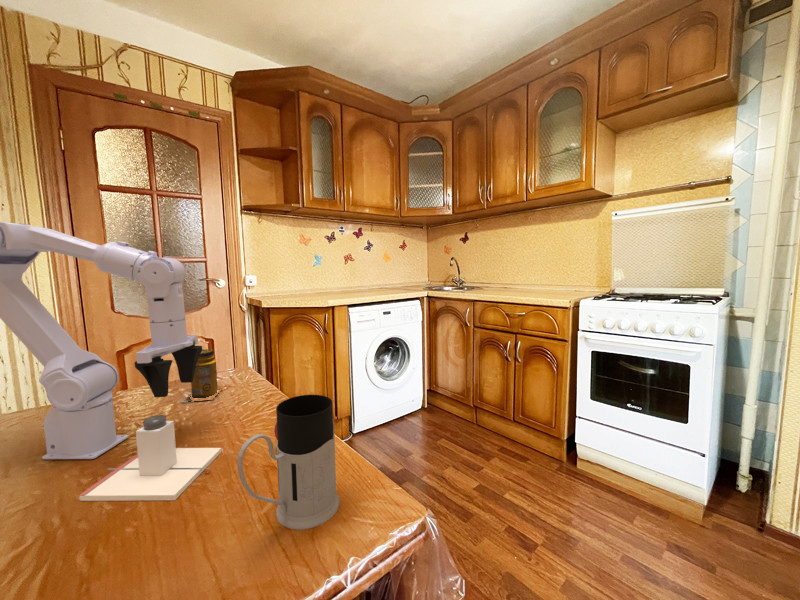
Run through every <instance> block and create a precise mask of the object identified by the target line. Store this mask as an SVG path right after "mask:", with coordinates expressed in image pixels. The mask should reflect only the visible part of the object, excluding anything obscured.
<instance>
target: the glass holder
mask: <svg viewBox="0 0 800 600" xmlns="http://www.w3.org/2000/svg"><path fill="white" fill-rule="evenodd" d="M275 409H276V412H275V413H276V414H275V415H276V422H277V436H278V440H277V441H276V455H275V449H274V443H273V441H272V439H271V438H270V437H269V436H268V435H266V434H263V433H262V434H261V433H259V434H254V435H253V436H250V438H248V439H247V440H246V441H244V443H243V445H241V448H240V450H239V452H238V455H237V471H238V472H237V473H238V477H239V479H240V482H241V484H242V487H243V488H244V490H245V491H246V492H247V493H248V494H249V495H250V496H251V497H252V498H254V499H256V500H259V501H263V502H266V503H269V504H275V505H277V506H276V507H277V508H276V510H275V511H276V512H275V516H276V520H277V521H278V522H279V524H281V525H282V526H283V527H285V528H287V529H291V530H296V531H297V530H309V529H313V528H316V527H319V526H321V525H323V524H325V523H326V522H327V521H329V520H331V519H332V518H333V517H334V516H335V514H336V513H337V512H338V509H339V508H340V502H341V501H340V496H339V494H338V492H337V481H336V479H337V477H336V475H337V474H336V446H335V445H336V442H335V438H336V437H335V421H334V415H333V414H334V413H333V409H334V408H333V401H332V399H331V398H330V397H328V396H325V395H322V394H302V395H301V394H300V395H296V396H293V397H290V398H286V399H284V400H283V401H281V402H279V403H278V404H277V406H276V408H275ZM259 439H264V440H265V441H266V442H267V447H268V454H269V457H270V458H271V460H272V459H273V460H274V461H277V463H276V466H277V483H278V484H277V486H278V499H274V498H271V497H270V498H269V497H265V496H262V495H259V494H257V493H256V492H255V491H253V490H252V488H251V487H250V485H249V484H248V483H247V482H248V481H247V480H246V477H245V473H244V465H243V463H244V456H245V453H246V450H247V449H248V448H249V446H250V445H251V444H252V443H253V442H255V441H256V440H259Z"/></svg>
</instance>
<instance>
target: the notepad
mask: <svg viewBox="0 0 800 600" xmlns="http://www.w3.org/2000/svg"><path fill="white" fill-rule="evenodd" d="M222 450H223V449H222V447H176V457H177V463H176V464H175V465H173V466H172V467H171V468H170V469H169V470H168V471H166V472H165V473H164V474H163V475H140V474H139V462H138V453H136V454H135V455H134V456H132V457H131V458H129V459H128V460H126V461H125V462H124V463H122V464H121V465H119V466H118V467H116V468H110V467H109V468H107V469H106V470H108V471H111V472H109V473H108V474H107V475H105V476H104V477H103V478H101V479H100V480H98V481H97V482H96V483H94V484H93V485H92V486H90V487H89V488H87V489H86V490H85V491H83V492H82V493H80V494H79V495H78V496H79V501H80V502H82V501H83V502H85V501H86V502H93V501H95V502H96V501H97V502H98V501H99V502H100V501H102V502H103V501H104V502H105V501H108V502H109V501H110V502H111V501H113V502H114V501H115V502H116V501H118V502H120V501H121V502H123V501H126V502H127V501H128V502H129V501H130V502H131V501H135V502H137V501H138V502H139V501H176V500H177V499H178V498H179V496H180V495H181V494H182V493H183V492H184V491H186V490H187V488H189V486H190V485H191V484H192V483H193V482H194V481H195V480H196V479H197V478H198V477H200V475H201V474H202V473H203V472H204V471H205V470H210V469H211V467H209V466H210V464H212V462H214V461H215V460H216V458H218V457H219V456H220V455H221V453H222V452H223V451H222Z"/></svg>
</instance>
